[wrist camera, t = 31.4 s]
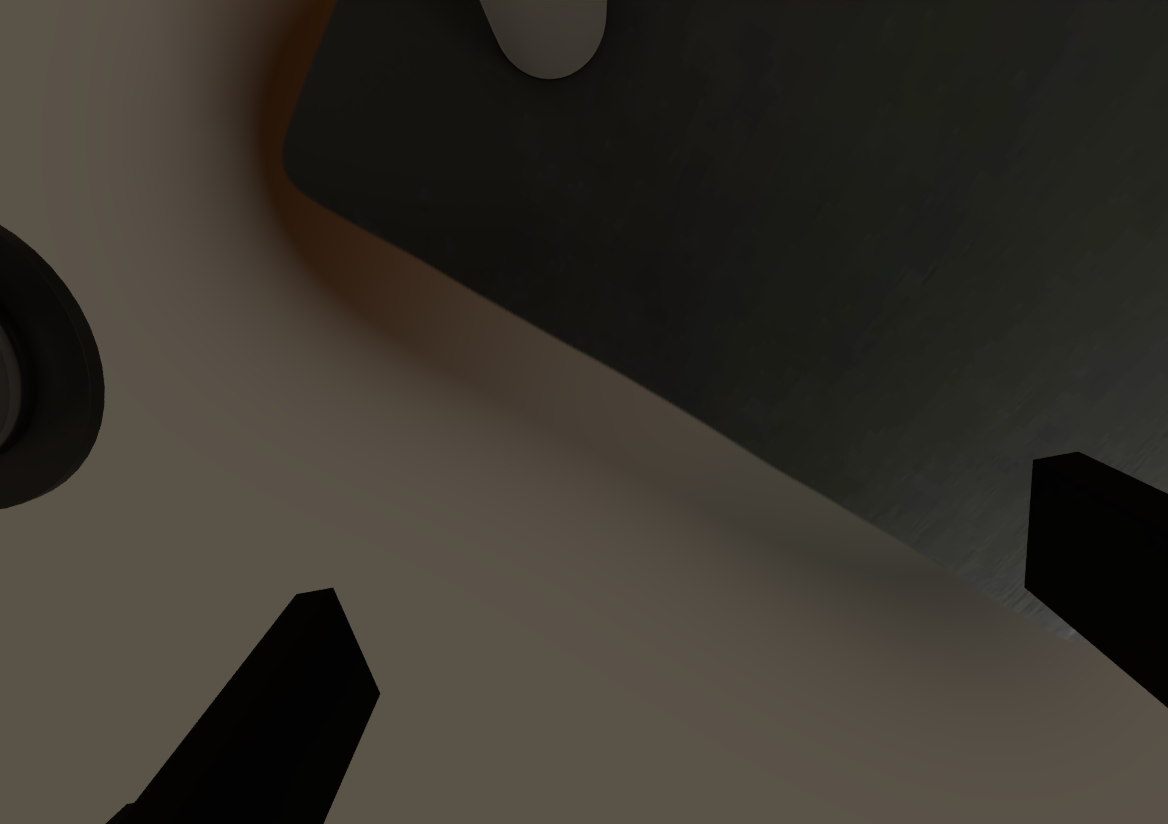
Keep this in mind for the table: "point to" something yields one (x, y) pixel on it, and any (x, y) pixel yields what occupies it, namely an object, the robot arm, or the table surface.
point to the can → (547, 33)
